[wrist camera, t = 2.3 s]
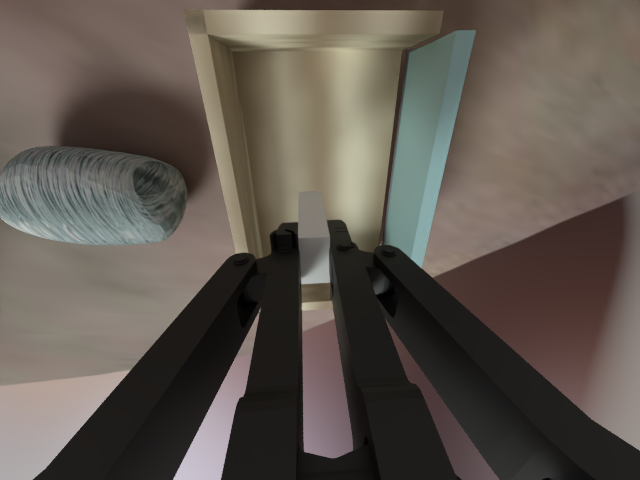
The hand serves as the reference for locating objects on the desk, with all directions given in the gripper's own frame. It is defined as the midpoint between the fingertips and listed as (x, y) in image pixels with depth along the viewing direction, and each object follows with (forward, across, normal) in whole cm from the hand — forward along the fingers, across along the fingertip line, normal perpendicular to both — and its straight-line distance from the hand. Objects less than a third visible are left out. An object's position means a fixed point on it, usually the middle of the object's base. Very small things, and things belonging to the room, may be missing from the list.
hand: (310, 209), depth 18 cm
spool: (+10, -18, -1) cm, 21 cm away
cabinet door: (+7, +9, 0) cm, 11 cm away
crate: (+10, +1, 0) cm, 10 cm away
